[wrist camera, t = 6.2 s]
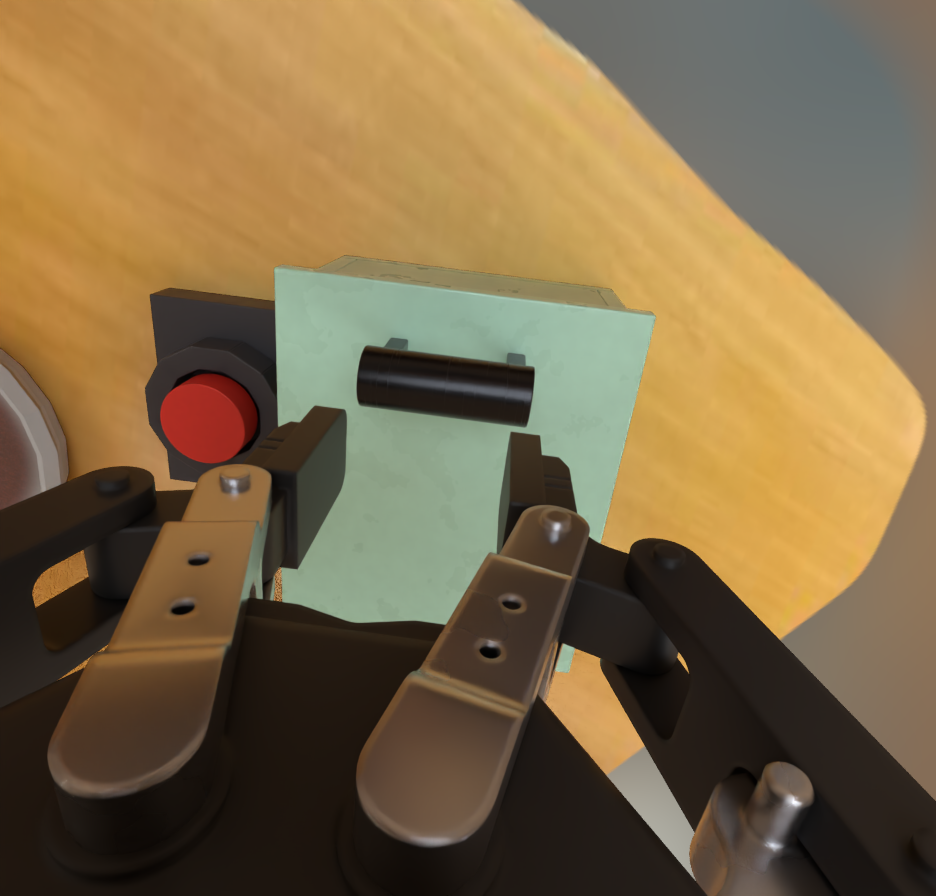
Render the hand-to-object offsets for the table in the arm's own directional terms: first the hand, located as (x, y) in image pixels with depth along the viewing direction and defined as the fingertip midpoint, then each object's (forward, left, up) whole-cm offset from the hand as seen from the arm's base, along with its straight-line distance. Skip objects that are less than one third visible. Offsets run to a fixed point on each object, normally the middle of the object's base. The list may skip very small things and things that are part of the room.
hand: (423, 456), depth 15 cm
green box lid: (+6, 0, -10) cm, 12 cm away
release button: (+7, -13, -16) cm, 21 cm away
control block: (+7, -13, -19) cm, 24 cm away
